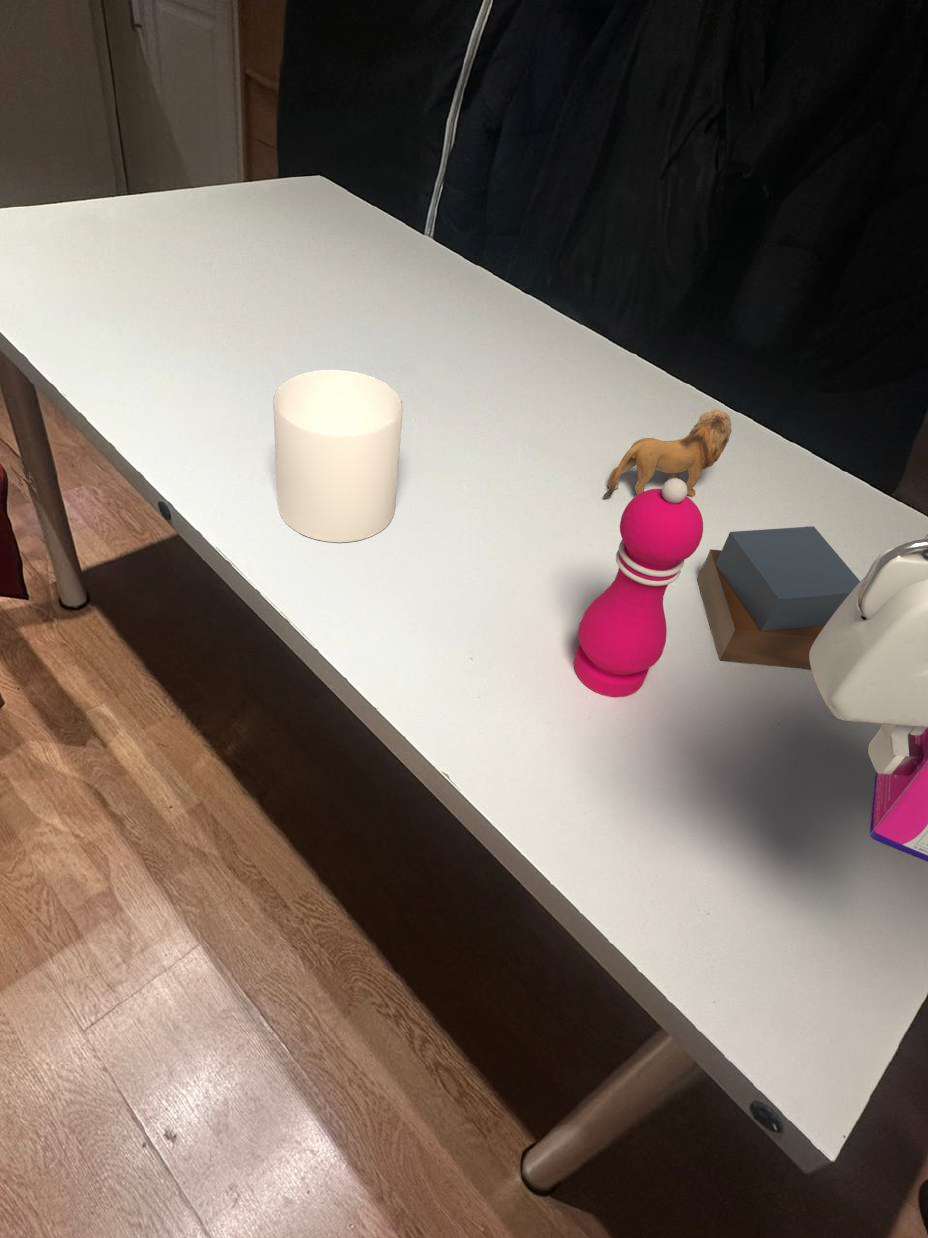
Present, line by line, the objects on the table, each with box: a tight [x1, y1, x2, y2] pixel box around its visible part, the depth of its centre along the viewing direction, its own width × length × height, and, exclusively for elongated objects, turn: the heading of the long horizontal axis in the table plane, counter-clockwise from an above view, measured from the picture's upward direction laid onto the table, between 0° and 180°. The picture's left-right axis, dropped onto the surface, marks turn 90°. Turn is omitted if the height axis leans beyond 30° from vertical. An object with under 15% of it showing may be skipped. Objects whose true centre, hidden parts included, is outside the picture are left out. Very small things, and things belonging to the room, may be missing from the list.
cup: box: [272, 369, 404, 543], centre depth 79 cm, size 12×12×12 cm
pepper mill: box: [573, 478, 704, 698], centre depth 65 cm, size 7×7×20 cm
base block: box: [696, 549, 824, 670], centre depth 77 cm, size 11×11×4 cm
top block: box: [716, 525, 861, 632], centre depth 74 cm, size 9×9×4 cm
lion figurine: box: [603, 408, 733, 499], centre depth 89 cm, size 15×5×9 cm, turn 117°
